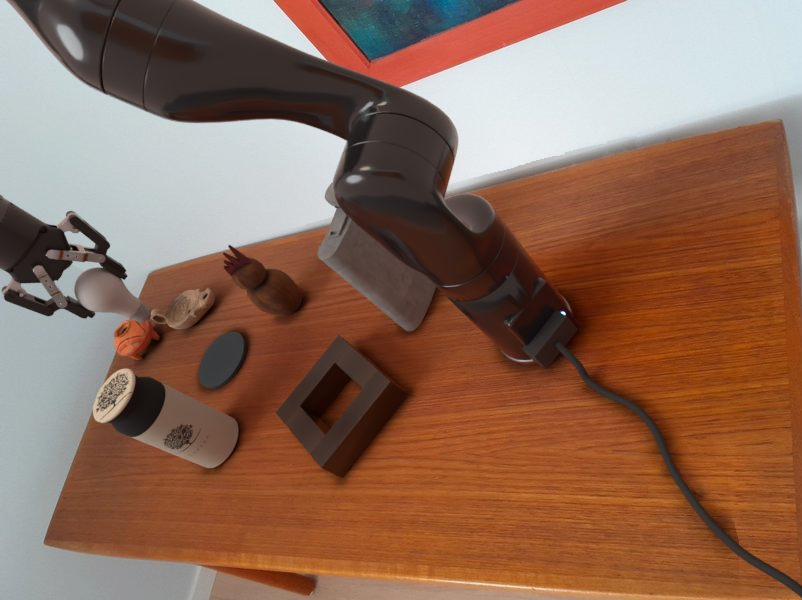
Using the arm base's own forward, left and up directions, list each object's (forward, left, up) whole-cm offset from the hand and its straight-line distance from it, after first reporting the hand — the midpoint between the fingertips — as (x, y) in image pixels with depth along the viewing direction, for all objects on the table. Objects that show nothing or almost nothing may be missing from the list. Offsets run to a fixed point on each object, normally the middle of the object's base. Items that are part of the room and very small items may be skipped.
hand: (108, 294), depth 91 cm
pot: (+22, +9, -21) cm, 32 cm away
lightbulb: (0, 0, -7) cm, 7 cm away
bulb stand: (-30, -9, -21) cm, 37 cm away
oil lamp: (+16, -1, -21) cm, 27 cm away
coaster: (0, 0, -21) cm, 21 cm away
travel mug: (-13, +8, -21) cm, 26 cm away
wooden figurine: (-5, -14, -21) cm, 26 cm away
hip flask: (-26, -29, -21) cm, 44 cm away
